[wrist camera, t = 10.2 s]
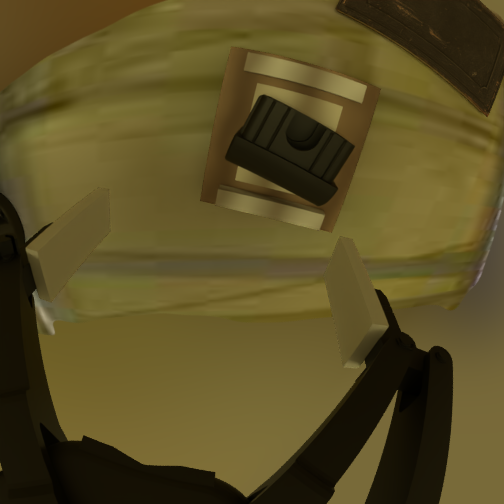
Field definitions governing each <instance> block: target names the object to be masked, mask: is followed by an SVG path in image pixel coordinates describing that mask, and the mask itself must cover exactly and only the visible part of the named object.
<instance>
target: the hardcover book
mask: <svg viewBox="0 0 504 504" xmlns="http://www.w3.org/2000/svg"><path fill="white" fill-rule="evenodd" d="M336 9H337V11H338V12H341V13H343V14H345V15H347V16H349V17H351V18H353V19H355V20H357V21H358V22H360V23H362V24H364V25H366V26H368V27H369V28H371V29H373V30H375V31H376V32H378V33H380V34H382V35H383V36H385V37H386V38H388V39H390V40H391V41H393V42H394V43H396V44H398V45H399V46H401V47H402V48H404V49H405V50H407V51H408V52H410V53H411V54H412V55H414V56H415V57H417V58H418V59H419V60H421V61H422V62H424V63H425V64H426V65H428V66H429V67H430V68H431V69H433V70H434V71H435V72H437V73H438V74H439V75H440V76H442V77H443V78H444V79H445V80H446V81H448V82H449V83H450V84H451V85H452V86H454V87H455V88H456V89H457V90H458V91H459V92H460V93H461V94H463V95H464V96H465V97H466V98H467V99H468V100H469V101H470V102H471V103H472V104H473V105H474V106H475V107H476V108H477V109H478V110H479V111H480V112H483V113H484V114H485V115H486V116H487V117H488V115H489V113H490V110H491V108H492V105H493V103H494V100H495V98H496V95H497V93H498V90H499V87H500V85H501V82H502V79H503V76H504V24H503V23H502V22H501V21H500V20H499V19H498V18H497V17H496V16H495V15H494V14H493V13H492V12H491V11H490V10H489V9H488V8H487V7H486V6H485V5H484V4H483V3H482V2H481V1H480V0H340V1H339V3H338V5H337V7H336Z"/></svg>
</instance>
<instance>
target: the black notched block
mask: <svg viewBox="0 0 504 504" xmlns="http://www.w3.org/2000/svg"><path fill="white" fill-rule="evenodd" d="M354 148H355V146H354V145H353V144H352V143H350V142H349V141H348V140H347V139H345V138H344V137H342V136H340V135H339V134H338V133H336V132H334V131H333V130H331V129H329V128H328V127H326V126H324V125H323V124H321V123H319V122H317V121H316V120H314V119H312V118H310V117H308V116H307V115H305V114H303V113H301V112H299V111H297V110H296V109H294V108H292V107H290V106H288V105H286V104H284V103H282V102H280V101H278V100H276V99H274V98H272V97H270V96H267V95H265V94H264V95H260V96H259V97H258V99H257V101H256V103H255V104H254V106H253V108H252V110H251V112H250V114H249V116H248V118H247V120H246V122H245V124H244V126H242V127H241V128H240V129H239V130H238V131H237V133H236V134H235V135H234V137H233V139H232V141H231V143H230V146H229V148H228V150H227V152H226V155H225V159H226V160H227V161H229V162H231V163H233V164H235V165H237V166H239V167H242V168H244V169H246V170H248V171H250V172H252V173H254V174H256V175H258V176H260V177H262V178H264V179H266V180H268V181H270V182H272V183H274V184H276V185H278V186H280V187H282V188H284V189H286V190H288V191H290V192H291V193H293V194H295V195H297V196H299V197H301V198H303V199H305V200H307V201H308V202H310V203H312V204H314V205H316V206H322V205H324V204H326V203H327V202H328V201H329V200H330V199H331V198H332V197H333V196H334V195H335V193H336V192H337V190H338V187H337V186H336V184H335V182H334V179H335V178H336V176H337V175H338V173H339V172H340V170H341V168H342V167H343V165H344V164H345V162H346V160H347V159H348V157H349V156H350V154H351V152H352V151H353V149H354Z"/></svg>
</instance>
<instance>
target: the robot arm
mask: <svg viewBox="0 0 504 504" xmlns="http://www.w3.org/2000/svg"><path fill="white" fill-rule="evenodd" d="M109 232H110V209H109V189H105V188H97V189H96V190H94V191H93V192H91V193H90V194H89V195H87V196H86V197H85V198H84V199H82V200H81V201H80V202H78V203H77V204H76V205H75V206H73V207H72V208H71V209H70V210H68V211H67V212H66V213H65V214H63V215H62V216H61V217H60V218H59V219H57V220H56V221H55V222H54V223H53V222H52V223H50V224H48V225H46V226H44V227H43V228H42V229H41V230H39V231H38V233H36V234H35V235H34V236H33V237H31V238H30V239H29V240H28V241H27V242H26V243H25V239H24V232H23V228H22V225H21V222H20V220H19V217H18V215H17V213H16V211H15V209H14V208H13V206H12V205H11V203H10V202H9V201H8V200H7V199H6V198H5V197H4V196H3V195H2V194H0V463H1V466H2V471H0V504H327V502H328V501H329V500H330V499H331V497H332V496H333V494H334V492H335V490H334V487H335V485H336V483H337V482H338V481H339V479H340V478H341V477H342V475H343V474H344V473H345V472H346V470H347V469H348V467H349V466H350V465H351V463H352V462H353V461H354V459H355V458H356V456H357V455H358V454H359V452H360V451H361V449H362V448H363V446H364V445H365V443H366V441H367V440H368V439H369V437H370V435H371V434H372V432H373V431H374V429H375V428H376V426H377V424H378V423H379V421H380V419H381V418H382V416H383V414H384V413H385V411H386V409H387V407H388V405H389V404H390V402H391V400H392V398H393V396H394V395H395V393H396V391H397V390H398V393H397V398H396V403H395V408H394V412H393V416H392V420H391V424H390V428H389V432H388V436H387V439H386V443H385V446H384V450H383V453H382V456H381V460H380V463H379V466H378V469H377V472H376V475H375V478H374V481H373V483H372V486H371V489H370V492H369V494H368V497H367V499H366V502H365V504H439V501H440V496H441V492H442V487H443V482H444V476H445V471H446V465H447V458H448V451H449V443H450V434H451V422H452V403H453V402H452V401H453V364H452V363H453V362H452V358H451V356H450V354H449V353H448V352H447V350H445V349H444V348H442V347H440V346H434V347H432V348H431V349H430V350H429V352H426V351H423V350H420V349H418V348H416V345H415V342H414V341H413V339H412V338H411V337H410V336H409V335H407V334H405V333H404V332H401V330H400V328H399V325H398V323H397V320H396V318H395V316H394V313H392V308H391V307H390V304H389V302H388V299H387V297H386V296H385V295H384V294H383V293H382V291H381V290H377V289H374V287H373V284H372V282H371V280H370V277H369V275H368V273H367V271H366V268H365V266H364V264H363V262H362V259H361V257H360V255H359V253H358V251H357V248H356V246H355V244H354V242H353V240H352V239H350V238H346V237H342V236H340V237H339V239H338V242H337V244H336V247H335V249H334V252H333V254H332V257H331V259H330V262H329V264H328V266H327V269H326V271H325V273H324V279H325V284H326V288H327V292H328V297H329V301H330V306H331V310H332V315H333V320H334V324H335V329H336V334H337V339H338V344H339V349H340V354H341V359H342V365H343V367H348V368H359V367H360V365H361V364H362V363H363V361H364V360H365V364H366V368H365V370H364V371H363V372H362V373H361V375H360V376H359V377H358V378H357V379H356V382H355V383H354V385H353V386H352V387H351V388H350V390H349V391H348V392H347V394H346V395H345V396H344V398H343V399H342V400H341V401H340V403H339V404H338V405H337V406H336V408H335V409H334V410H333V411H332V412H331V414H330V415H329V416H328V417H327V418H326V420H325V421H324V422H323V423H322V424H321V425H320V427H319V428H318V429H317V430H316V431H315V432H314V433H313V435H312V436H311V437H310V438H309V439H308V440H307V441H306V442H305V443H304V444H303V445H302V446H301V448H300V449H299V450H298V451H297V452H296V453H295V454H294V455H293V456H292V457H291V458H290V459H289V460H288V461H287V462H286V463H285V464H284V465H283V466H282V467H281V468H280V469H279V470H278V471H277V472H276V473H275V474H274V475H272V476H271V477H270V479H268V480H267V481H266V482H264V483H263V484H262V485H261V486H259V487H258V488H257V489H256V490H255V491H254V492H252V493H251V494H250V495H249V496H248V497H245V496H244V495H243V494H242V493H241V492H240V491H238V490H237V489H236V488H234V487H233V486H231V485H230V484H228V483H226V482H224V481H222V480H220V479H217V478H215V472H211V471H205V470H199V469H194V468H189V467H183V466H153V465H143V464H141V463H140V462H138V461H136V460H134V459H132V458H131V457H129V456H127V455H126V454H124V453H122V452H121V451H119V450H118V449H116V448H114V447H113V446H110V445H107V444H104V443H102V442H99V441H97V440H94V439H92V438H89V437H87V436H83V438H82V441H68V440H67V438H66V436H65V434H64V432H63V431H62V429H61V427H60V425H59V422H58V419H57V416H56V413H55V409H54V406H53V402H52V399H51V395H50V391H49V388H48V383H47V379H46V374H45V370H44V365H43V360H42V355H41V350H40V344H39V337H38V330H37V322H36V314H35V304H34V297H33V294H32V293H33V292H34V291H35V289H37V292H38V295H39V298H41V299H43V300H46V301H48V302H52V301H53V300H54V298H55V297H56V296H57V294H58V293H59V292H60V291H61V289H62V288H63V287H64V285H65V284H66V283H67V282H68V280H69V279H70V278H71V277H72V275H73V274H74V273H75V272H76V270H77V269H78V268H79V267H80V266H81V264H82V263H83V262H84V261H85V260H86V258H87V257H88V256H89V255H90V254H91V253H92V251H93V250H94V249H95V248H96V247H97V246H98V244H99V243H100V242H101V241H102V240H103V239H104V238H105V237H106V236H107V234H108V233H109Z"/></svg>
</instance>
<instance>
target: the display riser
mask: <svg viewBox="0 0 504 504" xmlns="http://www.w3.org/2000/svg"><path fill="white" fill-rule="evenodd" d="M380 90H381V89H380V88H378V87H375V86H373V85H371V84H368V83H365V82H363V81H360V80H358V79H355V78H352V77H350V76H347V75H344V74H341V73H338V72H335V71H332V70H329V69H326V68H323V67H319V66H316V65H313V64H309V63H306V62H302V61H298V60H295V59H291V58H287V57H282V56H278V55H274V54H269V53H264V52H260V51H254V50H249V49H243V48H237V47H231V50H230V54H229V58H228V62H227V66H226V70H225V75H224V79H223V84H222V88H221V93H220V97H219V102H218V106H217V111H216V116H215V121H214V126H213V131H212V136H211V142H210V147H209V152H208V158H207V163H206V169H205V175H204V181H203V187H202V193H201V199H200V201H203V202H208V203H212V204H215V206H219V207H223V208H228V209H232V210H236V211H241V212H245V213H249V214H253V215H258V216H262V217H266V218H270V219H274V220H278V221H282V222H286V223H290V224H294V225H298V226H302V227H306V228H310V229H314V230H318V231H319V230H324V231H328V232H331V233H332V231H333V228H334V226H335V223H336V220H337V218H338V215H339V213H340V210H341V207H342V205H343V202H344V199H345V197H346V194H347V191H348V189H349V186H350V183H351V180H352V177H353V175H354V172H355V169H356V166H357V163H358V160H359V157H360V154H361V151H362V148H363V145H364V142H365V139H366V136H367V133H368V130H369V127H370V124H371V120H372V117H373V114H374V111H375V107H376V104H377V101H378V97H379V94H380ZM264 94H265V95H267V96H270V97H272V98H274V99H276V100H278V101H280V102H282V103H284V104H286V105H288V106H290V107H292V108H294V109H296V110H297V111H299V112H301V113H303V114H305V115H307V116H308V117H310V118H312V119H314V120H316V121H317V122H319V123H321V124H323V125H324V126H326V127H328V128H329V129H331V130H333V131H334V132H336V133H338V134H339V135H340V136H342V137H344V138H345V139H347V140H348V141H349V142H350V143H352V144H353V145H354V146H355V148H354V149H353V151H352V152H351V154H350V156H349V157H348V159H347V160H346V162H345V164H344V165H343V167H342V168H341V170H340V172H339V173H338V175H337V176H336V178H335V179H334V182H335V184H336V186H337V187H338V190H337V192H336V193H335V195H334V196H333V197H332V198H331V199H330V200H329V201H328V202H327V203H326V204H324V205H322V206H316V205H314V204H312V203H310V202H308V201H307V200H305V199H303V198H301V197H299V196H297V195H295V194H293V193H291V192H290V191H288V190H286V189H284V188H282V187H280V186H278V185H276V184H274V183H272V182H270V181H268V180H266V179H264V178H262V177H260V176H258V175H256V174H254V173H252V172H250V171H248V170H246V169H244V168H242V167H239V166H237V165H235V164H233V163H231V162H229V161H227V160H226V159H225V155H226V152H227V150H228V148H229V146H230V143H231V141H232V139H233V137H234V135H235V134H236V133H237V131H238V130H239V129H240V128H241V127H242V126H244V124H245V122H246V120H247V118H248V116H249V114H250V112H251V110H252V108H253V106H254V104H255V103H256V101H257V99H258V97H259V96H260V95H264Z"/></svg>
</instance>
